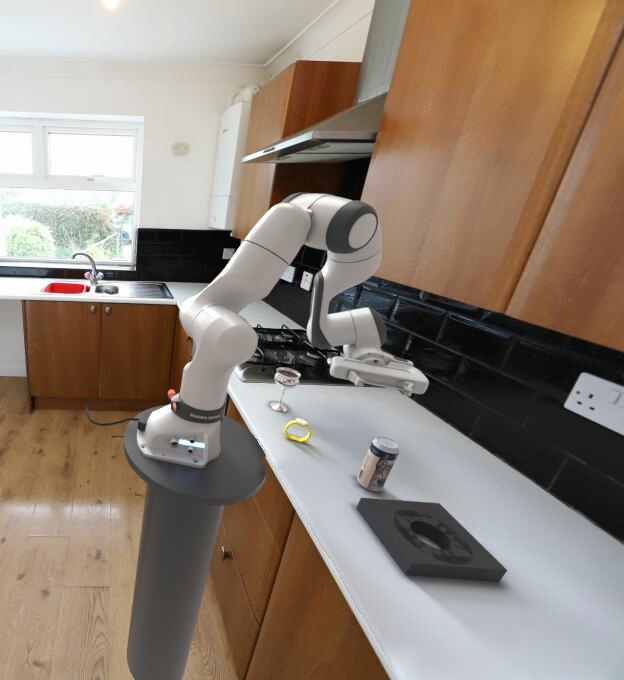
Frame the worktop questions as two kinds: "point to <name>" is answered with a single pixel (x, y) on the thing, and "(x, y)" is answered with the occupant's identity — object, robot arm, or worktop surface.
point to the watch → (301, 423)
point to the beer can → (378, 463)
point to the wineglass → (285, 384)
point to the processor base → (439, 525)
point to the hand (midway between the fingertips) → (383, 388)
